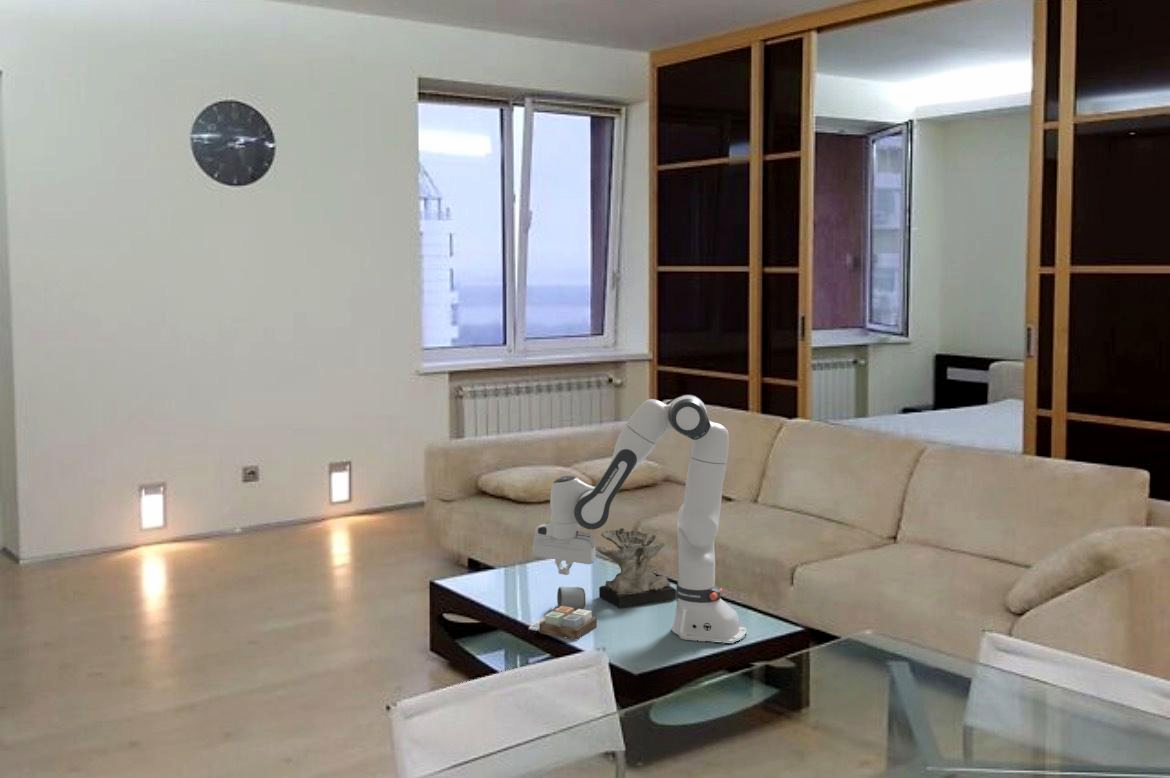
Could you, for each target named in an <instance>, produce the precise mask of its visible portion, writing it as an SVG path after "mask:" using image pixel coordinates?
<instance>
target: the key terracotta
mask: <svg viewBox="0 0 1170 778" xmlns="http://www.w3.org/2000/svg"><path fill="white" fill-rule="evenodd" d="M574 611H575V610H574V608H571V607H565V606H561V607H559V608H558V607H557V608H555V609H554V612H558V613H564V614H565V617H566V616H568V615H569V614H570V615H572V613H573V612H574Z"/></svg>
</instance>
